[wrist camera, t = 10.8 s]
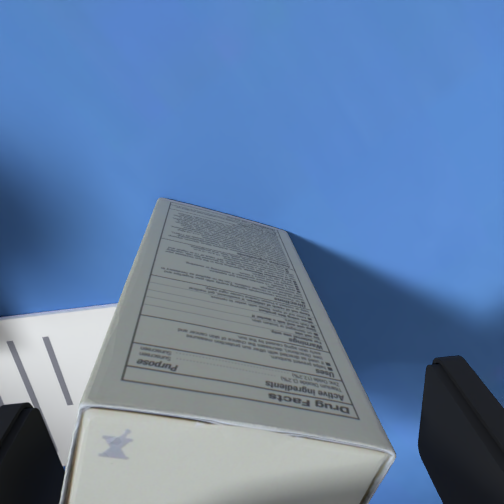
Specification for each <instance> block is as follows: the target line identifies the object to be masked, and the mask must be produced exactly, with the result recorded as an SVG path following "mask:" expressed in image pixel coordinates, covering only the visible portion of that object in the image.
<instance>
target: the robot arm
mask: <svg viewBox="0 0 504 504" xmlns="http://www.w3.org/2000/svg"><path fill="white" fill-rule="evenodd" d="M418 449H419V453H420V456H421V459H422V461H423V463H424V465H425V467H426V469H427V471H428V474H429V476H430V478H431V480H432V482H433V484H434V486H435V488H436V490H437V492H438V494H439V496H440V498H441V500H442V502H443V504H504V408H503V407H502V406H501V404H500V403H499V402H498V401H497V399H496V398H495V397H494V396H493V394H492V393H491V392H490V391H489V389H488V388H487V387H486V386H485V384H484V383H483V382H482V381H481V379H480V378H479V377H478V376H477V374H476V373H475V372H474V371H473V369H472V368H471V367H470V366H469V364H468V363H467V362H466V361H465V359H464V358H463V357H461V356H459V355H458V356H449V357H439V358H435V359H434V360H433V363H432V365H428V366H427V368H426V374H425V384H424V393H423V402H422V411H421V420H420V430H419V439H418ZM64 475H65V471H64V468H63V466H62V464H61V461H60V459H59V456H58V454H57V451H56V449H55V447H54V444H53V442H52V439H51V437H50V434H49V432H48V430H47V427H46V425H45V422H44V420H43V417H42V415H41V413H40V411H39V409H38V408H33V406H32V405H31V404H30V403H29V402H25V403H16V404H7V405H2V406H0V504H59V502H60V498H61V491H62V486H63V481H64Z"/></svg>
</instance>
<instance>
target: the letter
mask: <svg viewBox="0 0 504 504" xmlns="http://www.w3.org/2000/svg"><path fill="white" fill-rule="evenodd" d="M117 305H118V303H116V304H107V305H99V306H90V307H82V308H73V309H65V310H57V311H48V312H40V313H31V314H23V315H14V316H6V317H0V406H2V405H7V404H16V403H25V402H29V403H30V404H31V405H32V406H33V408H38V409H39V411H40V413H41V415H42V417H43V420H44V422H45V425H46V427H47V430H48V432H49V434H50V437H51V439H52V442H53V444H54V447H55V449H56V451H57V454H58V456H59V459H60V461H61V464H62V466H66V464H67V459H68V455H69V450H70V445H71V440H72V435H73V431H74V427H75V423H76V418H77V413H78V407H79V403H80V401H81V398H82V396H83V393H84V390H85V388H86V385H87V383H88V380H89V378H90V375H91V373H92V370H93V367H94V365H95V362H96V360H97V357H98V354H99V352H100V349H101V346H102V344H103V341H104V338H105V336H106V333H107V331H108V328H109V325H110V323H111V320H112V317H113V315H114V312H115V310H116V307H117Z"/></svg>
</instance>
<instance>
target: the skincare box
mask: <svg viewBox="0 0 504 504" xmlns="http://www.w3.org/2000/svg"><path fill="white" fill-rule="evenodd" d="M395 458H396V453H395V451H394V449H393V447H392V445H391V443H390V441H389V439H388V437H387V435H386V433H385V431H384V429H383V427H382V425H381V423H380V421H379V419H378V417H377V415H376V413H375V411H374V409H373V407H372V405H371V403H370V400H369V398H368V396H367V394H366V392H365V390H364V388H363V386H362V384H361V382H360V380H359V378H358V376H357V374H356V372H355V370H354V368H353V366H352V364H351V362H350V360H349V357H348V355H347V353H346V351H345V349H344V347H343V345H342V343H341V341H340V339H339V337H338V335H337V333H336V331H335V328H334V326H333V325H332V323H331V321H330V319H329V317H328V315H327V312H326V310H325V308H324V306H323V304H322V302H321V300H320V298H319V296H318V294H317V292H316V290H315V288H314V286H313V284H312V282H311V280H310V278H309V276H308V273H307V272H306V270H305V268H304V266H303V263H302V261H301V259H300V257H299V255H298V253H297V251H296V249H295V247H294V245H293V243H292V241H291V239H290V237H289V235H288V233H287V232H286V231H284V230H281V229H278V228H274V227H271V226H267V225H264V224H261V223H257V222H254V221H250V220H247V219H243V218H239V217H235V216H232V215H229V214H225V213H221V212H217V211H214V210H210V209H206V208H202V207H198V206H195V205H191V204H187V203H182V202H178V201H174V200H170V199H166V198H159V199H158V200H157V203H156V205H155V208H154V210H153V213H152V215H151V218H150V221H149V224H148V226H147V229H146V232H145V234H144V237H143V239H142V242H141V245H140V247H139V250H138V252H137V255H136V257H135V260H134V263H133V265H132V268H131V271H130V273H129V276H128V278H127V281H126V283H125V286H124V289H123V291H122V294H121V297H120V299H119V302H118V305H117V307H116V310H115V312H114V315H113V317H112V320H111V323H110V325H109V328H108V331H107V333H106V336H105V338H104V341H103V344H102V346H101V349H100V352H99V354H98V357H97V360H96V362H95V365H94V367H93V370H92V373H91V375H90V378H89V380H88V383H87V385H86V388H85V390H84V393H83V396H82V398H81V401H80V403H79V407H78V413H77V418H76V423H75V427H74V431H73V435H72V440H71V445H70V450H69V455H68V459H67V464H66V468H65V475H64V481H63V486H62V491H61V498H60V502H59V504H368V503H369V501H370V500H371V498H372V496H373V495H374V493H375V491H376V490H377V488H378V486H379V484H380V483H381V481H382V480H383V478H384V477H385V475H386V474H387V472H388V470H389V468H390V467H391V465H392V464H393V462H394V460H395Z"/></svg>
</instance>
